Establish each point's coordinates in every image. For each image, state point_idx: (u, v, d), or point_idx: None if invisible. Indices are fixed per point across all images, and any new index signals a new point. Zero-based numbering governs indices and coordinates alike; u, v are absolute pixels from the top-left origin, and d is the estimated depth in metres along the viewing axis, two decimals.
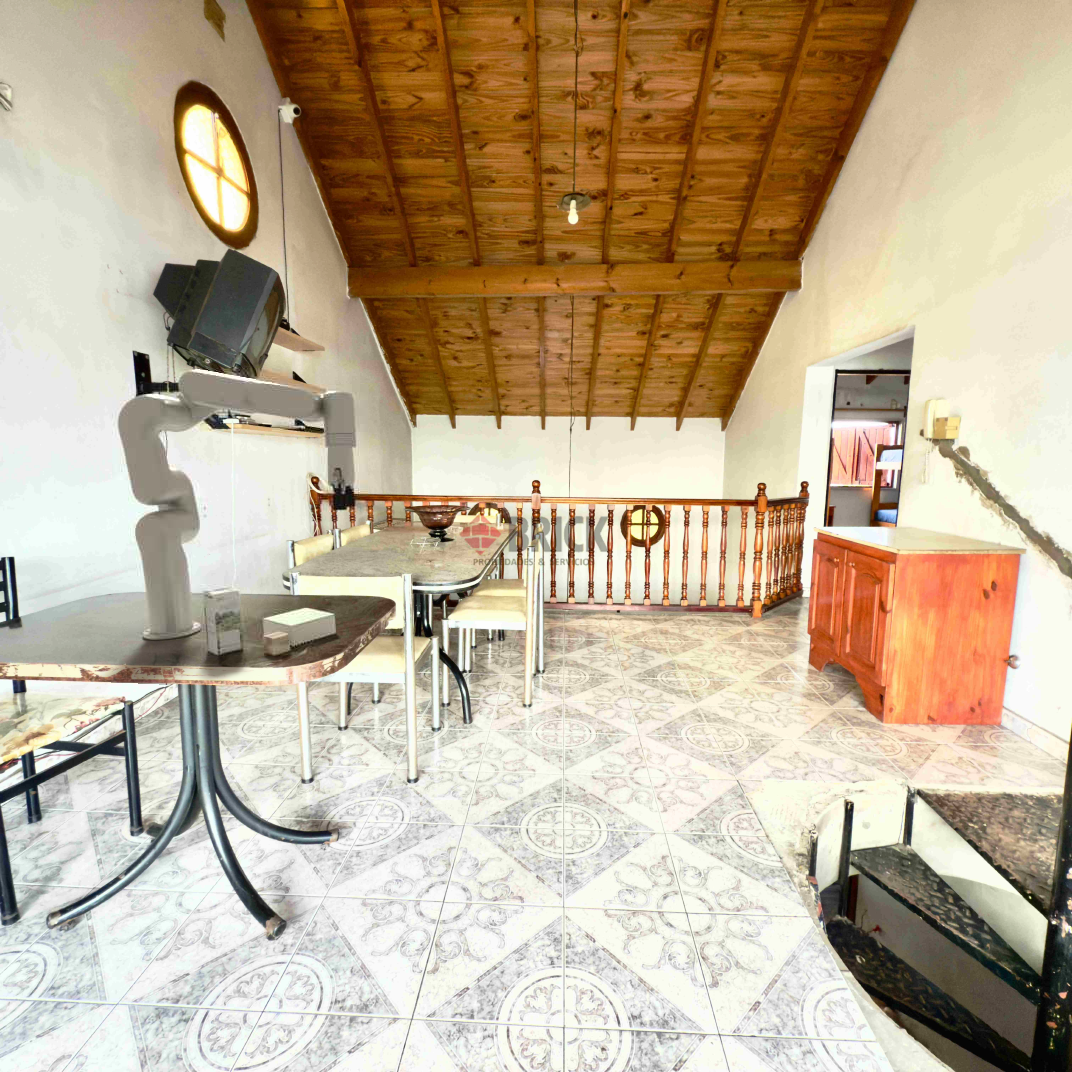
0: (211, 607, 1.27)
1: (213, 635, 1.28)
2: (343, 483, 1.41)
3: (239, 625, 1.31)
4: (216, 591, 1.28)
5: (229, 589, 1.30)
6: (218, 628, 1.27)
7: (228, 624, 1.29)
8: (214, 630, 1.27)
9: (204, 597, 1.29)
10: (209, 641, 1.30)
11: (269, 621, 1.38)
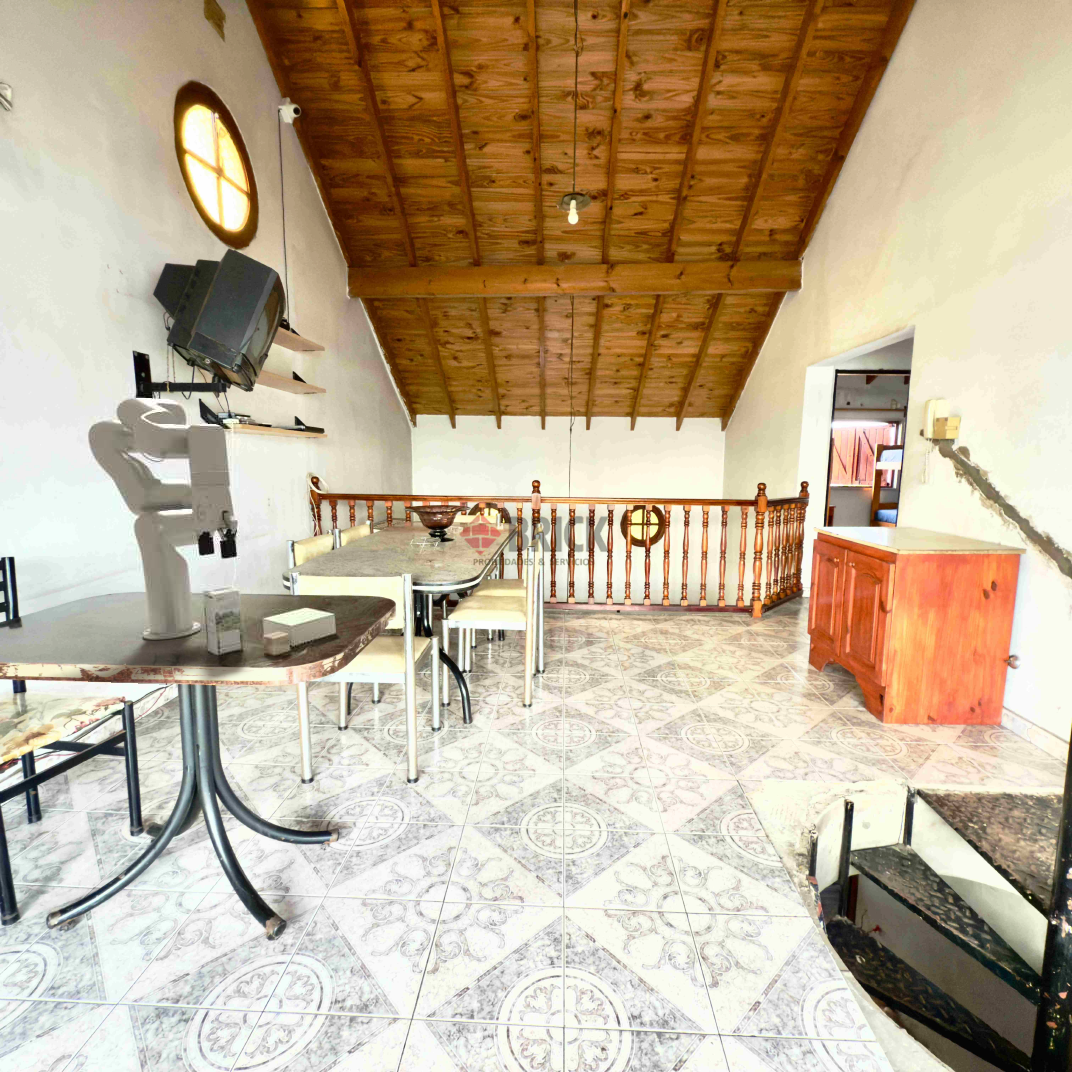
0: (211, 607, 1.27)
1: (213, 634, 1.28)
2: None
3: (239, 625, 1.31)
4: (216, 591, 1.28)
5: (229, 589, 1.30)
6: (218, 628, 1.27)
7: (228, 624, 1.29)
8: (214, 630, 1.27)
9: (204, 597, 1.29)
10: (209, 641, 1.30)
11: (269, 621, 1.38)
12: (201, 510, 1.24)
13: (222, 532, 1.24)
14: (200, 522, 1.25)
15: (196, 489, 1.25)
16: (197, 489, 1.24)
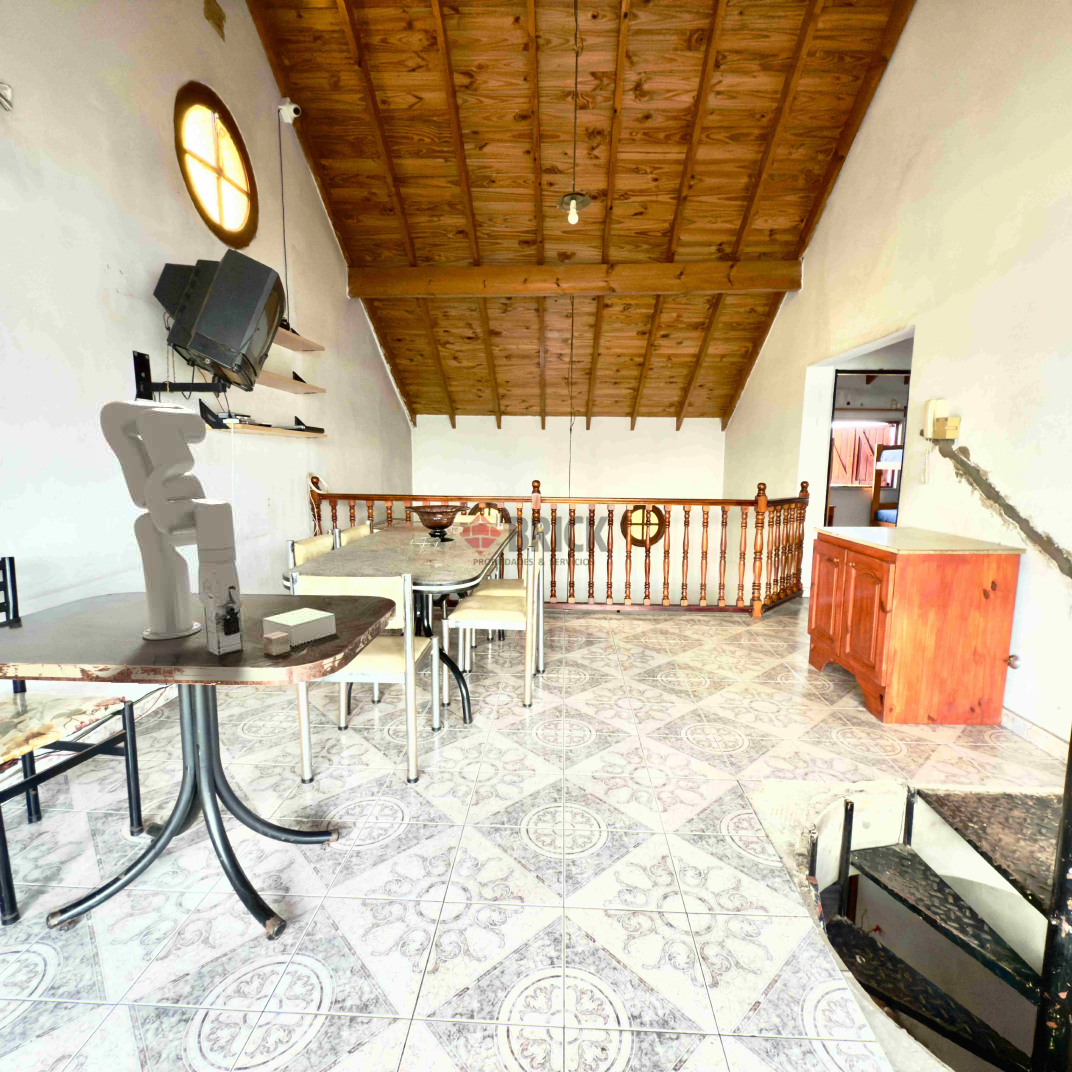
0: (211, 607, 1.27)
1: (213, 634, 1.28)
2: None
3: (239, 625, 1.31)
4: None
5: None
6: (218, 628, 1.27)
7: None
8: (214, 630, 1.27)
9: None
10: (209, 641, 1.30)
11: (269, 621, 1.38)
12: (208, 585, 1.27)
13: (226, 610, 1.27)
14: (207, 596, 1.28)
15: (203, 564, 1.27)
16: (204, 565, 1.27)
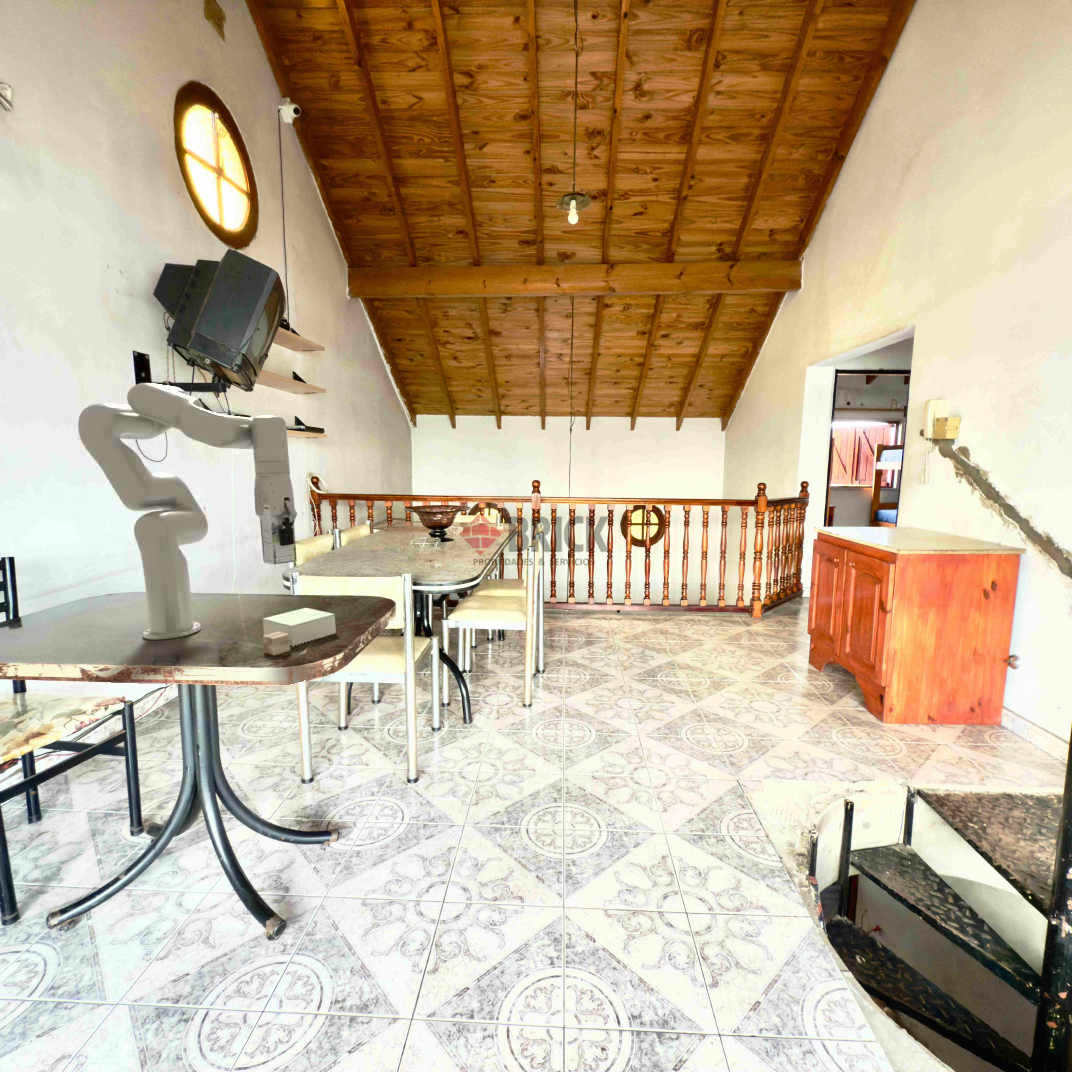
0: (268, 517, 1.32)
1: (269, 545, 1.33)
2: None
3: (293, 537, 1.36)
4: None
5: None
6: (274, 538, 1.33)
7: None
8: (270, 539, 1.33)
9: None
10: (265, 552, 1.35)
11: (269, 621, 1.38)
12: (264, 497, 1.32)
13: (282, 521, 1.32)
14: (263, 508, 1.33)
15: (259, 477, 1.33)
16: (260, 477, 1.32)
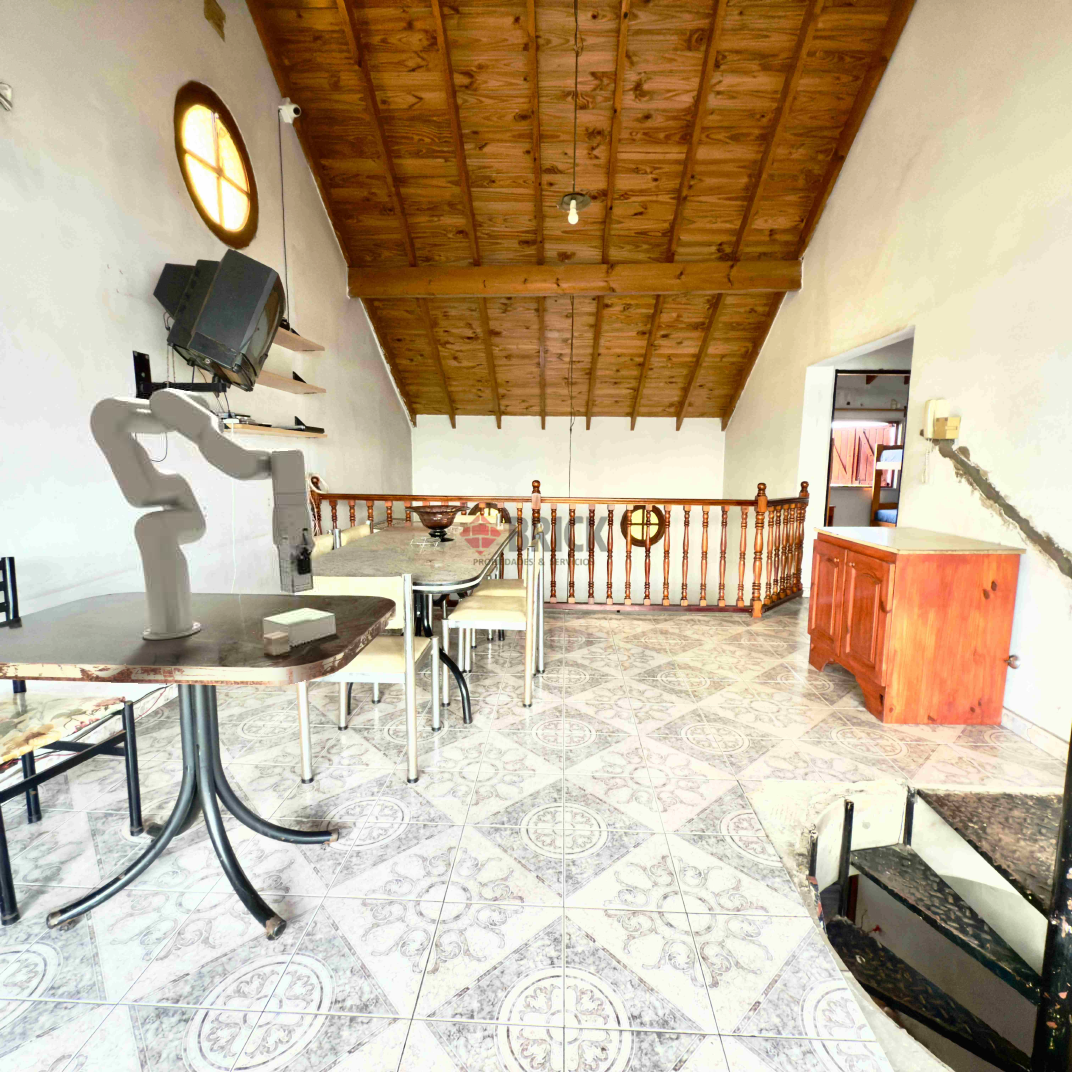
0: (286, 547, 1.35)
1: (287, 574, 1.37)
2: None
3: None
4: None
5: None
6: (292, 567, 1.36)
7: None
8: (289, 569, 1.36)
9: None
10: (283, 581, 1.38)
11: (269, 621, 1.38)
12: (283, 527, 1.36)
13: (300, 551, 1.36)
14: (281, 538, 1.36)
15: (278, 508, 1.36)
16: (279, 508, 1.36)
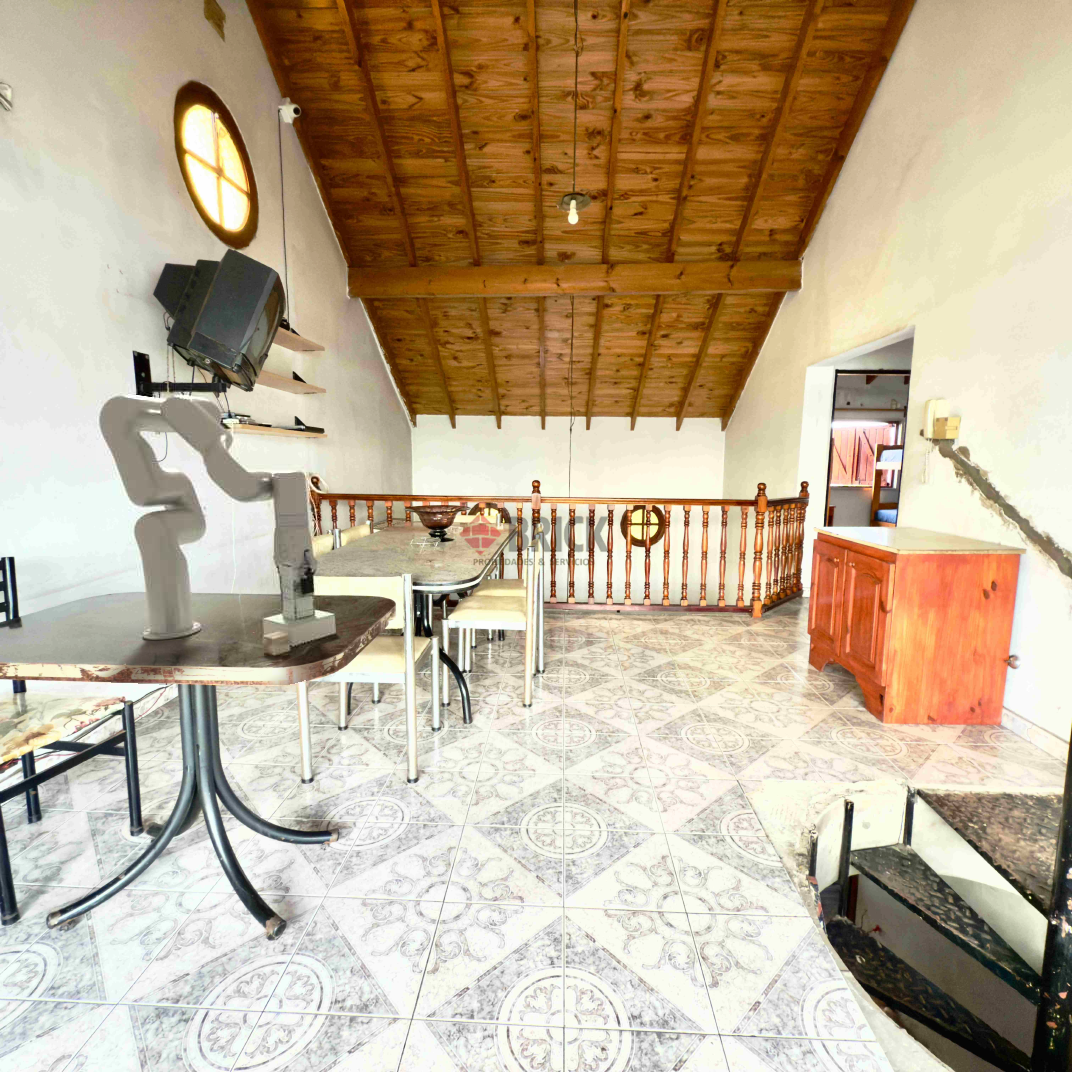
0: (289, 575, 1.36)
1: (290, 601, 1.37)
2: None
3: None
4: None
5: None
6: (295, 594, 1.37)
7: None
8: (291, 596, 1.37)
9: (280, 566, 1.38)
10: (285, 607, 1.39)
11: (269, 621, 1.38)
12: (284, 549, 1.36)
13: (303, 570, 1.36)
14: (283, 559, 1.37)
15: (279, 529, 1.37)
16: (280, 530, 1.36)
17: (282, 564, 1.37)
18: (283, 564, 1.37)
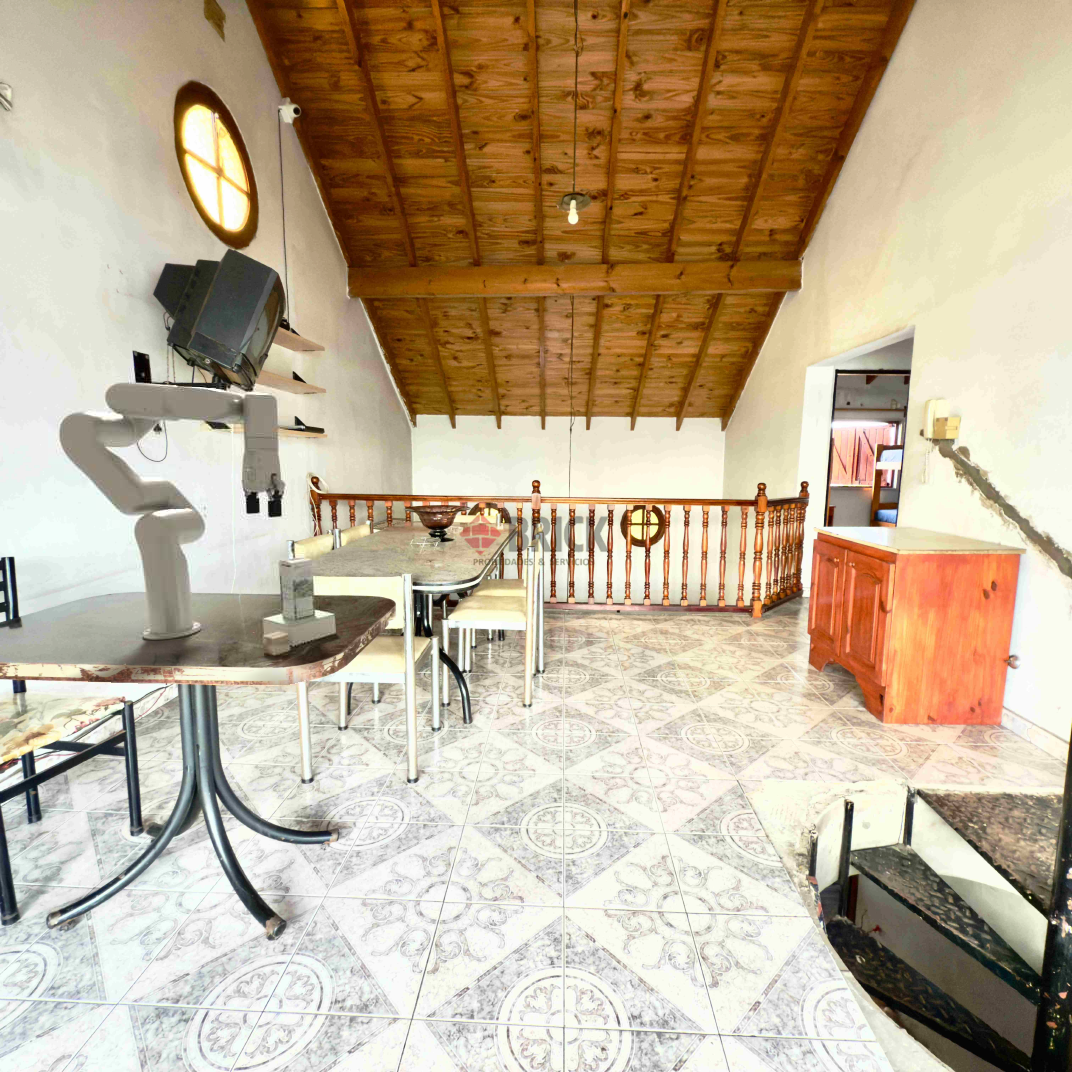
0: (289, 575, 1.36)
1: (290, 601, 1.37)
2: None
3: (312, 592, 1.40)
4: (292, 560, 1.37)
5: (303, 559, 1.39)
6: (295, 594, 1.37)
7: (303, 591, 1.38)
8: (291, 596, 1.37)
9: (280, 566, 1.38)
10: (285, 607, 1.39)
11: (269, 621, 1.38)
12: (252, 472, 1.36)
13: (270, 493, 1.35)
14: (250, 483, 1.37)
15: (248, 452, 1.36)
16: (249, 452, 1.36)
17: (282, 564, 1.38)
18: (283, 564, 1.37)
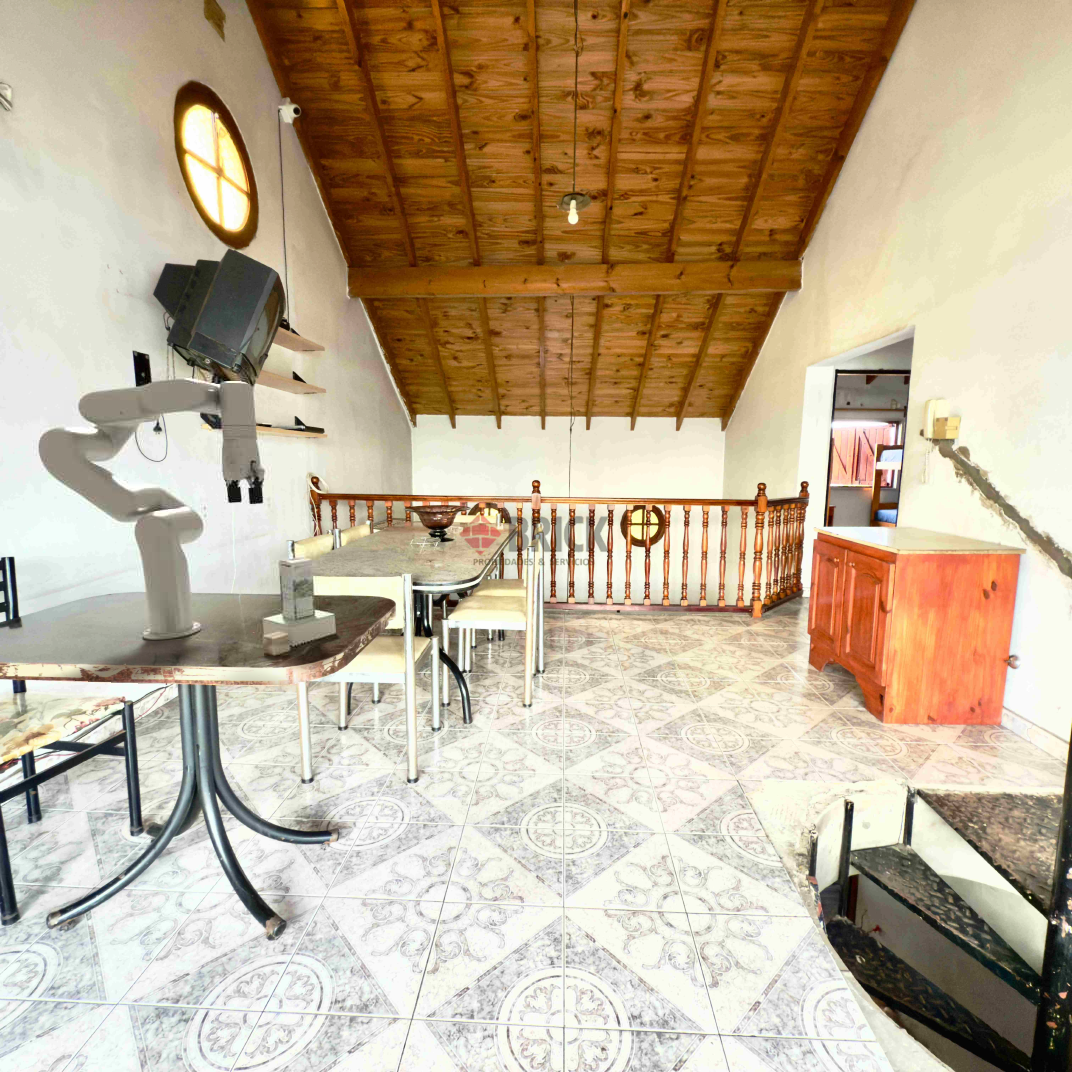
0: (289, 575, 1.36)
1: (290, 601, 1.37)
2: None
3: (312, 592, 1.40)
4: (292, 560, 1.37)
5: (303, 559, 1.39)
6: (295, 594, 1.37)
7: (303, 591, 1.38)
8: (291, 596, 1.37)
9: (280, 566, 1.38)
10: (285, 607, 1.39)
11: (269, 621, 1.38)
12: (231, 460, 1.37)
13: (250, 480, 1.37)
14: (230, 471, 1.38)
15: (227, 441, 1.38)
16: (228, 441, 1.37)
17: (282, 564, 1.38)
18: (283, 564, 1.37)
